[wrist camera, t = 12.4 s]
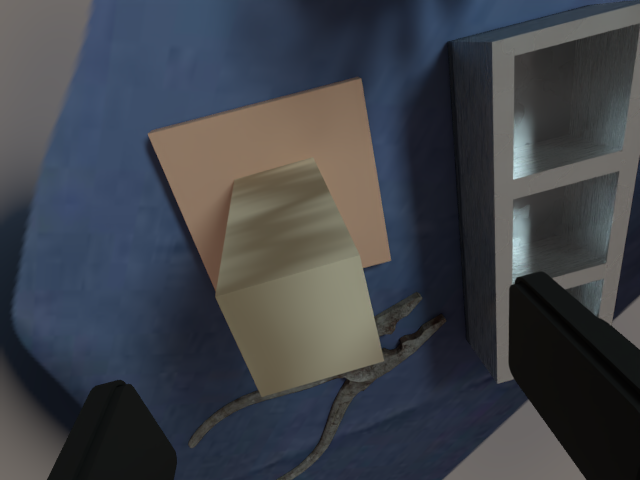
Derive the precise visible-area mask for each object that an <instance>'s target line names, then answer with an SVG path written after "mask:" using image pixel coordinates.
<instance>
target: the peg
mask: <svg viewBox="0 0 640 480" xmlns="http://www.w3.org/2000/svg"><path fill="white" fill-rule="evenodd" d="M215 298H216V300H217V302H218V304H219V306H220V308H221V311H222V313H223V315H224V317H225V319H226V321H227V323H228V326H229V328H230V330H231V332H232V334H233V336H234V339H235V341H236V343H237V345H238V347H239V349H240V351H241V354H242V356H243V358H244V360H245V362H246V364H247V367H248V369H249V371H250V373H251V375H252V377H253V380H254V382H255V384H256V386H257V388H258V390H259V392H260V395H261V397H264V396H267V395H271V394H274V393H278V392H281V391H284V390H288V389H291V388H295V387H298V386H301V385H305V384H308V383H312V382H315V381H318V380H322V379H325V378H329V377H332V376H335V375H339V374H342V373H346V372H349V371H353V370H356V369H359V368H363V367H366V366H370V365H373V364H376V363H380V362H383V361H384V358H383V353H382V349H381V345H380V340H379V336H378V332H377V327H376V323H375V319H374V315H373V310H372V306H371V302H370V297H369V293H368V289H367V284H366V280H365V276H364V271H363V267H362V263H361V258H360V255H359V252H358V250H357V248H356V246H355V244H354V242H353V240H352V238H351V236H350V234H349V231H348V229H347V227H346V225H345V223H344V221H343V219H342V217H341V215H340V213H339V211H338V208H337V206H336V204H335V202H334V200H333V198H332V196H331V194H330V192H329V190H328V187H327V185H326V183H325V181H324V179H323V177H322V175H321V173H320V171H319V169H318V166H317V164H316V162H315V160H314V158H313V157H312V158H308V159H305V160H301V161H298V162H294V163H291V164H287V165H284V166H280V167H277V168H273V169H270V170H266V171H263V172H259V173H256V174H252V175H249V176H245V177H242V178H238V179H235V180H234V185H233V191H232V197H231V203H230V210H229V216H228V222H227V228H226V234H225V240H224V246H223V252H222V258H221V264H220V271H219V277H218V283H217V289H216V295H215Z"/></svg>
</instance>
